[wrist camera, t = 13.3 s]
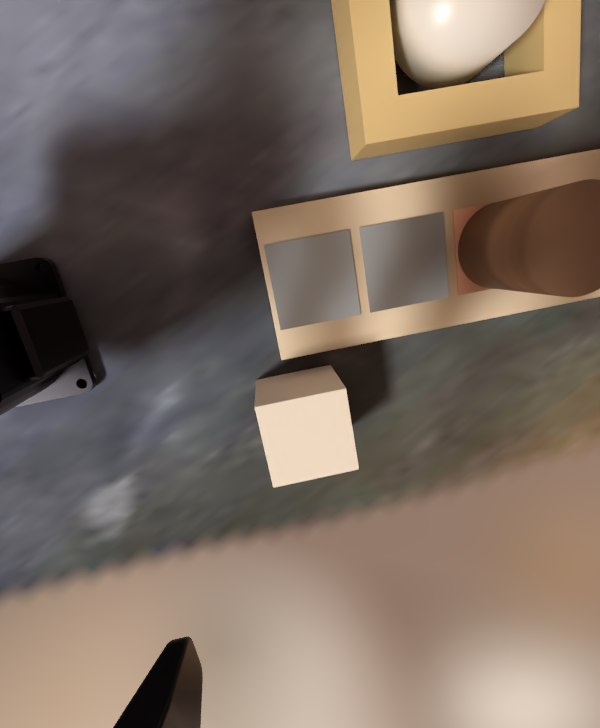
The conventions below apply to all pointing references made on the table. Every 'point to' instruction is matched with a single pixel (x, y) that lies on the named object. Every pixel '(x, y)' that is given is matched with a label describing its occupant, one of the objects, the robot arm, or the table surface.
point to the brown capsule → (537, 242)
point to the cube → (305, 425)
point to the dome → (455, 36)
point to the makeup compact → (393, 257)
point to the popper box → (455, 103)
